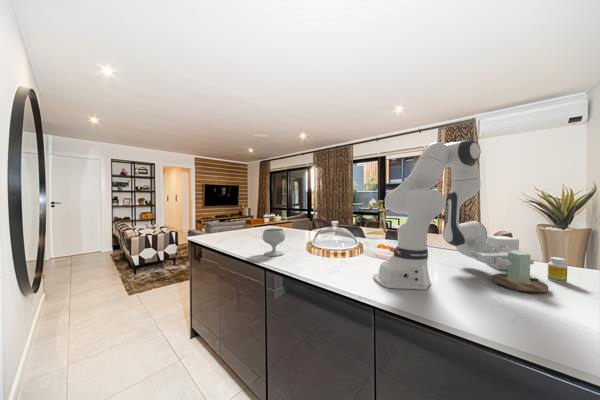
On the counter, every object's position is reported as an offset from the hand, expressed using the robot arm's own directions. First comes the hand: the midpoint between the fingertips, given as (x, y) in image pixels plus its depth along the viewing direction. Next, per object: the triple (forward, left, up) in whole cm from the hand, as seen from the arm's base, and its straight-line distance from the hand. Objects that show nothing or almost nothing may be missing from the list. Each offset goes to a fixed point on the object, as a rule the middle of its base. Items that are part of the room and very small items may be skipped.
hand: (521, 262), depth 88 cm
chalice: (-99, +58, -10) cm, 115 cm away
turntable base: (0, +1, -10) cm, 10 cm away
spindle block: (0, +1, -7) cm, 7 cm away
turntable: (0, +1, -8) cm, 9 cm away
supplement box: (+15, +22, -10) cm, 28 cm away
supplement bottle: (+21, +4, -10) cm, 23 cm away
